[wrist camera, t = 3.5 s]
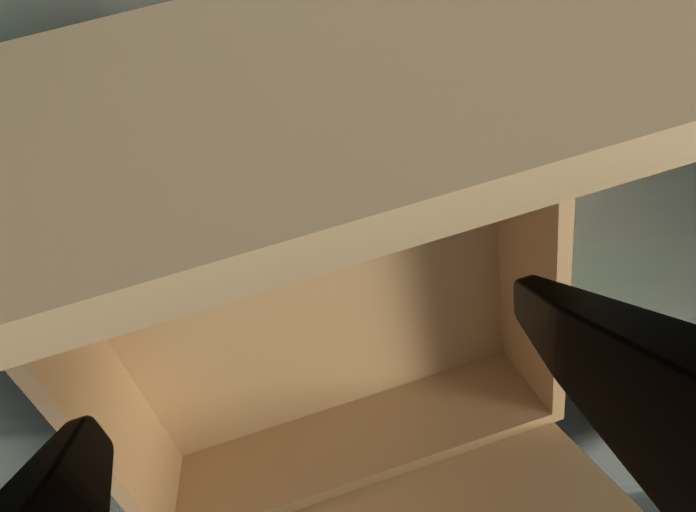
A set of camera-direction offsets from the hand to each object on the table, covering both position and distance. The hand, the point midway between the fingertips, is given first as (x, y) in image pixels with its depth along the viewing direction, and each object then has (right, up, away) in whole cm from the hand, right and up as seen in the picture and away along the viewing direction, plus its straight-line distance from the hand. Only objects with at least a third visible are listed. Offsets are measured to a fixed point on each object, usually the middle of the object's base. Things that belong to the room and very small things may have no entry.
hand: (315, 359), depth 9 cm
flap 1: (-1, +5, -2) cm, 5 cm away
